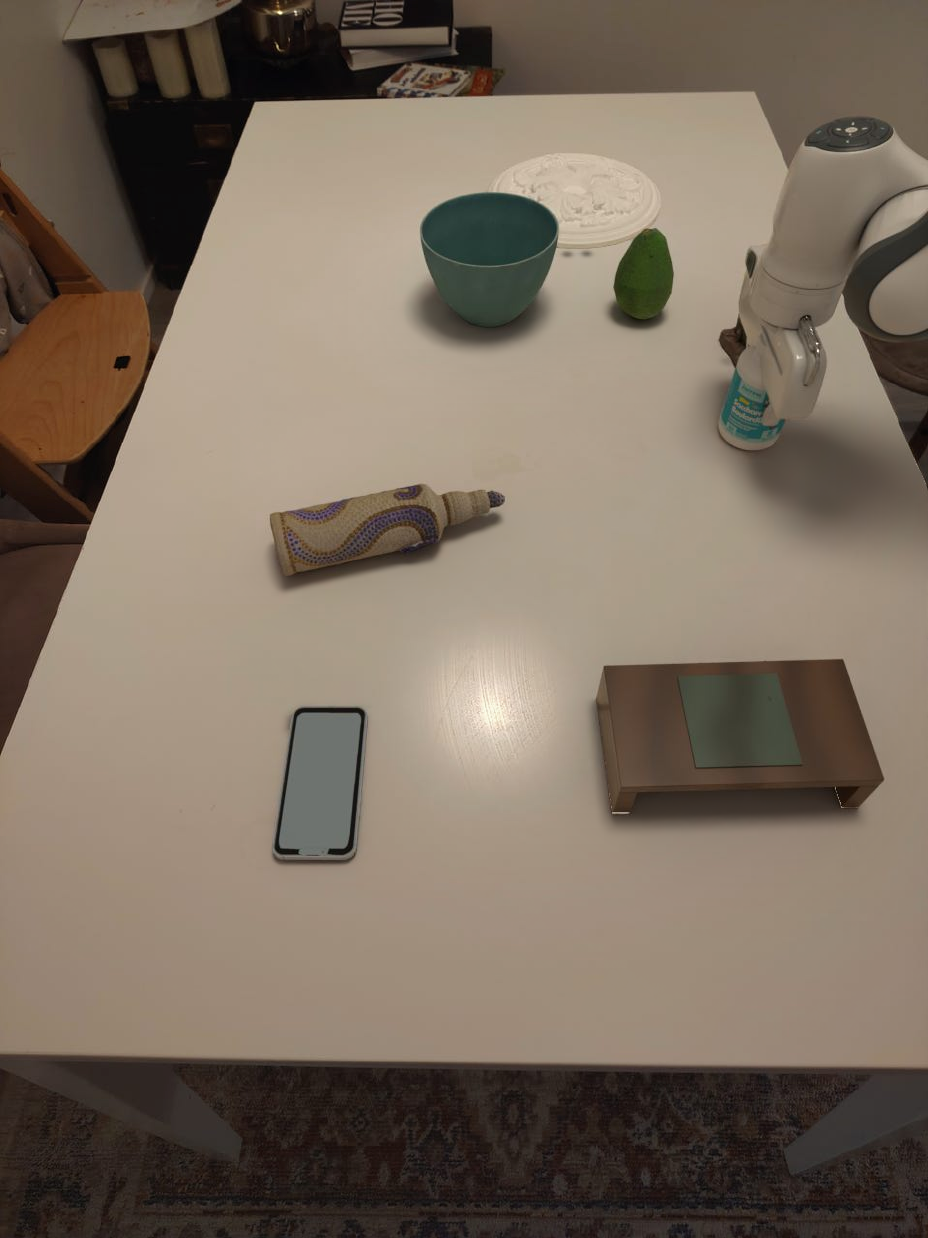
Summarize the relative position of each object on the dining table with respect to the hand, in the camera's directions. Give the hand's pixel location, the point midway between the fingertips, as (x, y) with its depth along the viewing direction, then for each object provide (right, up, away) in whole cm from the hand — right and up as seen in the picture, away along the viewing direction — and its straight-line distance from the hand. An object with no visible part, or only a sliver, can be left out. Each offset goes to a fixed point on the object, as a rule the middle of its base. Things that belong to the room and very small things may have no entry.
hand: (759, 396), depth 97 cm
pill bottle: (0, -3, +5) cm, 6 cm away
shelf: (-11, -39, -20) cm, 45 cm away
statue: (+4, +10, +14) cm, 18 cm away
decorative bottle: (-43, -18, -5) cm, 47 cm away
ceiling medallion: (-17, +42, +37) cm, 59 cm away
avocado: (-10, +17, +19) cm, 28 cm away
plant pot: (-31, +18, +20) cm, 41 cm away
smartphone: (-48, -41, -21) cm, 67 cm away
